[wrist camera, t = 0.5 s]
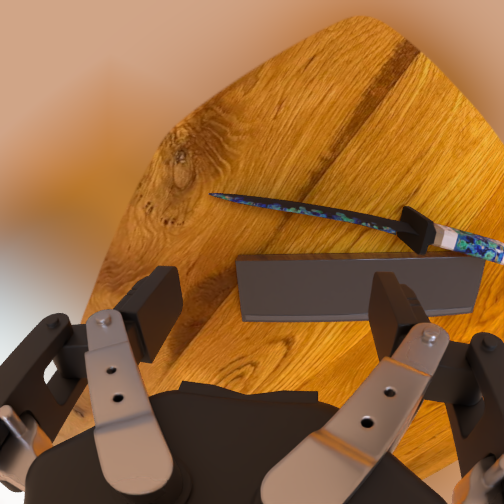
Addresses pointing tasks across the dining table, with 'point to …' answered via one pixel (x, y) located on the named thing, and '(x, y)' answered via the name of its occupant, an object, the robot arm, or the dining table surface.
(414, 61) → the dining table surface
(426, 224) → the knife
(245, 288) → the slate board
